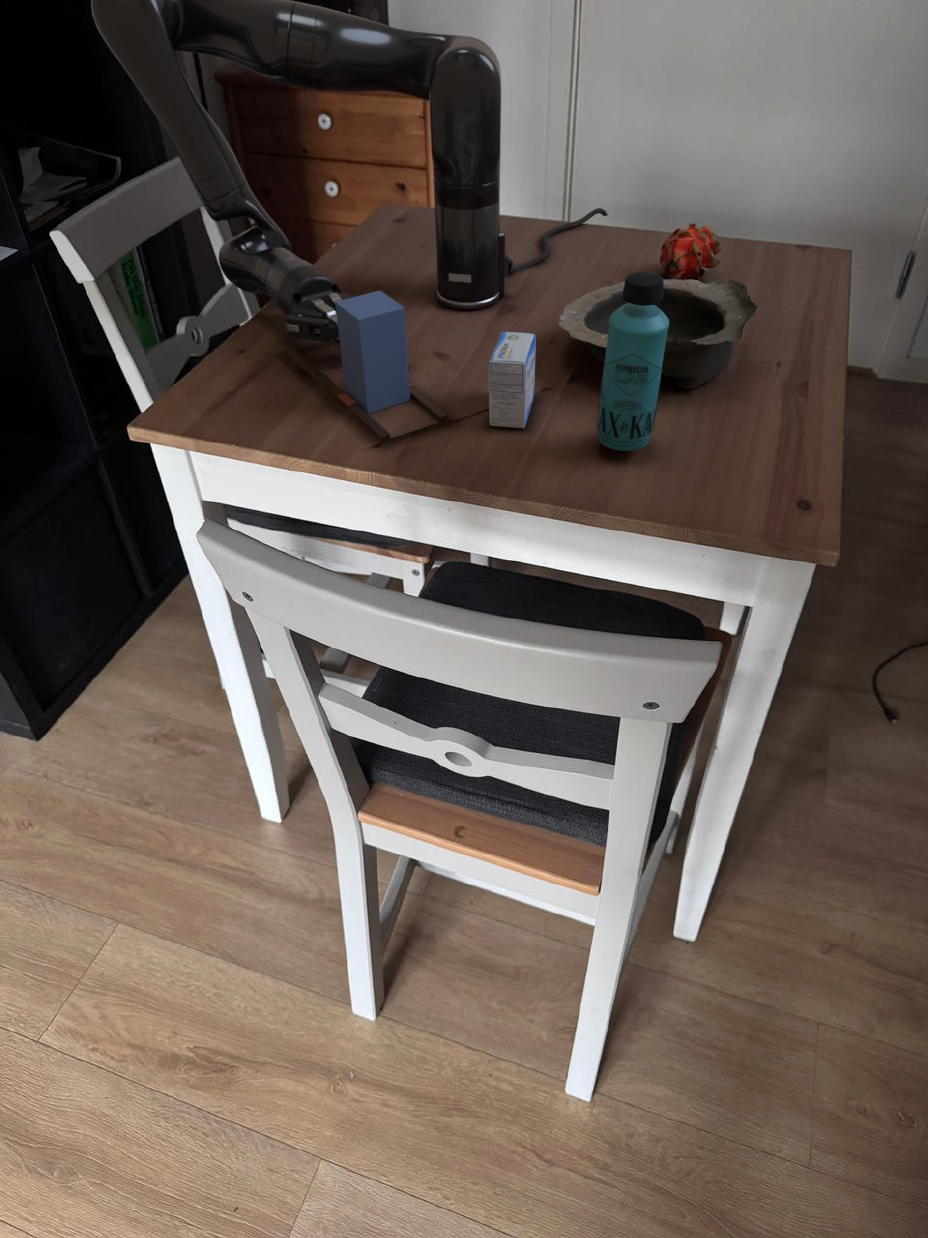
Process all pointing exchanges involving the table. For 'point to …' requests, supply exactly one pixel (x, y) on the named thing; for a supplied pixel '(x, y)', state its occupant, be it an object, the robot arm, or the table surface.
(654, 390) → the beverage bottle
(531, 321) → the table surface
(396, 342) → the block
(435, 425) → the track
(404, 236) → the table surface
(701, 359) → the stone bowl
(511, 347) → the medicine box
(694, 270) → the dragon fruit
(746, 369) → the table surface
